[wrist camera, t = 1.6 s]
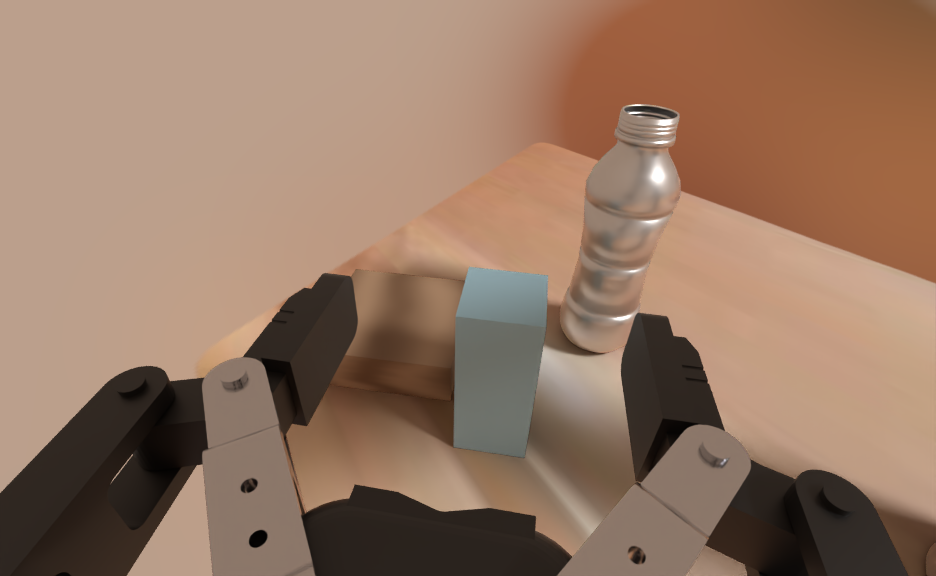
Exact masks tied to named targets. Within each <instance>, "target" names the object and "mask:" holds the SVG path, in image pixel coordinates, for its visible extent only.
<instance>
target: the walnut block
mask: <svg viewBox="0 0 936 576" xmlns="http://www.w3.org/2000/svg"><path fill="white" fill-rule="evenodd" d="M351 278H352V281H353V286H354V293H355V301H356V308H357V316H358V325H357V331H356V334H355V337H354V339H353V341H352V343H351V345H350V347H349V349H348V350H347V352H346V354H345V356H344V358H343V360H342V362H341V364H340V365H339V367H338V369H337V371H336V373H335V375H334V377H333V378H332V380H331V382H330V384H329V385H334V386H342V387H349V388H357V389H364V390H372V391H379V392H387V393H394V394H402V395H409V396H417V397H424V398H432V399H439V400H446V401H451V397H452V392H453V388H454V383H455V319H456V313H457V309H458V306H459V302H460V298H461V295H462V291H463V287H464V284H465V281H461V280H452V279H443V278H433V277H424V276H414V275H405V274H396V273H386V272H377V271H368V270H358V269H356V270H355V271H354V273H353V275H352V276H351Z"/></svg>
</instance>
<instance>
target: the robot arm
mask: <svg viewBox="0 0 936 576" xmlns="http://www.w3.org/2000/svg"><path fill="white" fill-rule="evenodd" d="M357 325H358V316H357V308H356V301H355V293H354V286H353V281H352V278H351V277H350V276H345V275H337V274H328V273H324V274H322V275H321V277H320V278H319V279H318V281H317V282H316V283H315V285H314V286H313V287H312V289H309V288H303V289H302V290H300V291H299V292H297V293H296V294H294V295H293V296H291V297H289V299H288V300H287V301H286V302H285V304H284V305H283V306H282V307H281V309H280V312H278V313H277V314H276V315H275V316H274V318H273V319H272V322H270V323H269V324H268V325H267V327H266V328H265V329H264V330H263V332H262V333H261V334H260V336H259V337H258V338H257V339H256V341H255V342H254V343H253V345H252V346H251V347H250V348H249V350H248V351H247V352H246V353H245V355H244V356H243V357H241V358H235V359H231V360H228V361H225V362H223V363H221V364H219V365H217V366H216V367H214V368H213V369H212V370H211V371H210V372H209V373H208V374H207V375H206V376H205V378H197V379H188V380H178V381H169V378H168V376H167V374H166V373H165V371H164V370H162V369H161V368H158V367H153V366H144V367H137V368H134V369H130V370H128V371H125V372H123V373H121V374H119V375H117V376H115V377H114V378H113V379H111V380H110V381H108V382H107V383H106V384H105V385H104V386H103V387H102V388H101V389H100V390H99V391H98V392H97V393H96V394H95V396H94V397H93V398H92V399H91V400H90V401H89V402H88V403H87V404H86V405H85V406H84V407H83V408H82V409H81V410H80V411H79V412H78V413H77V414H76V415H75V416H74V417H73V418H72V419H71V420H70V421H69V422H68V424H67V425H66V426H65V427H64V428H63V429H62V430H61V431H60V432H59V433H58V434H57V435H56V436H55V437H54V438H53V439H52V440H51V441H50V442H49V443H48V444H47V445H46V446H45V447H44V448H43V449H42V450H41V452H40V453H39V454H38V455H37V456H36V457H35V458H34V459H33V460H32V461H31V462H30V463H29V464H28V465H27V466H26V467H25V468H24V469H23V470H22V471H21V472H20V473H19V475H17V477H15V478H14V480H13V481H12V482H11V483H10V484H9V485H8V486H7V487H6V488H5V489H4V490H3V491H2V492H1V493H0V576H127V574H128V572H129V571H130V569H131V568H132V566H133V564H134V563H135V562H136V560H137V558H138V557H139V555H140V554H141V552H142V551H143V549H144V547H145V545H146V544H147V542H148V541H149V540H150V538H151V536H152V535H153V533H154V532H155V530H156V529H157V527H158V525H159V524H160V522H161V521H162V519H163V518H164V516H165V514H166V513H167V511H168V510H169V508H170V507H171V505H172V503H173V502H174V500H175V499H176V497H177V496H178V494H179V492H180V491H181V489H182V488H183V486H184V484H185V483H186V481H187V480H188V478H189V477H190V475H191V474H192V472H193V470H194V469H195V467H196V466H197V465H201V464H203V471H204V483H205V494H206V505H207V516H208V526H209V538H210V549H211V560H212V572H213V576H686V575H687V573H688V571H689V570H690V568H691V566H692V565H693V563H694V562H695V560H696V558H697V557H698V555H699V554H700V552H701V550H702V549H703V547H704V546H705V545H706V546H708V547H710V548H712V549H714V550H716V551H718V552H720V553H722V554H725V555H727V556H729V557H731V558H733V559H735V560H737V561H739V562H741V563H743V564H745V567H746V571H747V575H748V576H908V574H907V572H906V570H905V568H904V566H903V564H902V562H901V560H900V558H899V556H898V554H897V551H896V549H895V547H894V545H893V543H892V541H891V539H890V537H889V535H888V533H887V531H886V529H885V527H884V525H883V523H882V521H881V519H880V517H879V515H878V513H877V511H876V509H875V508H874V506H873V504H872V503H871V502H870V500H869V499H868V498H867V497H866V496H865V495H864V494H863V492H861V491H860V490H859V489H858V488H857V487H856V486H854V485H853V484H851V483H850V482H848V481H847V480H845V479H843V478H842V477H839V476H837V475H835V474H833V473H830V472H826V471H822V470H808V471H805V472H802V473H801V474H800V475H799V476H798V477H797V478H796V479H793V478H791V477H789V476H786V475H784V474H781V473H779V472H776V471H774V470H772V469H769V468H767V467H764V466H762V465H760V464H758V463H756V462H754V461H753V460H751V459H750V458H749V455H748V453H747V451H746V450H745V448H744V447H743V445H742V444H741V443H740V442H739V441H738V440H737V439H735V438H734V437H733V436H732V435H730V434H729V433H727V432H725V430H724V427H723V424H722V421H721V418H720V415H719V412H718V409H717V406H716V403H715V400H714V397H713V394H712V391H711V388H710V385H709V384H708V383H707V382H708V379H707V376H706V374H705V371H703V365H702V362H701V359H700V356H699V353H698V351H697V350H696V349H695V348H694V347H693V346H692V344H691V343H690V342H689V341H688V340H687V339H686V338H684V337H677V336H673V333H672V329H671V326H670V323H669V319H668V317H667V316H661V315H652V314H644V313H637V314H636V316H635V318H634V321H633V324H632V327H631V331H630V334H629V337H628V340H627V343H626V346H625V350H624V353H623V357H622V363H621V378H622V385H623V392H624V399H625V407H626V414H627V421H628V428H629V435H630V443H631V450H632V457H633V464H634V471H635V479H636V481H640V482H641V483H640V484H639V483H638V482H637V483H635V484H634V485H633V486H632V487H631V488H630V489H629V490H628V491H627V493H626V494H625V495H624V496H623V497H622V499H621V500H620V501H619V502H618V503H617V505H616V506H615V507H614V508H613V509H612V511H611V512H610V513H609V514H608V515H607V517H606V518H605V519H604V520H603V521H602V523H601V524H600V525H599V526H598V527H597V529H596V530H595V531H594V532H593V533H592V534H591V536H590V537H589V538H588V539H587V540H586V542H585V543H584V544H583V545H582V546H581V548H580V549H579V550H578V551H577V552H576V554H575V555H574V556H573V557H572V556H571V555H570V554H569V553H568V552H567V551H566V550H565V549H563V548H562V547H561V546H560V545H558V544H557V543H556V542H555V541H553V540H551V539H550V538H548V537H547V536H545V535H543V534H541V533H539V532H537V531H535V523H536V516H532V515H526V514H520V513H515V512H509V511H503V510H498V509H492V508H486V509H473V510H461V511H448V512H442V511H438V510H435V509H433V508H431V507H429V506H427V505H424V504H422V503H420V502H418V501H416V500H414V499H412V498H409V497H407V496H405V495H403V494H401V493H399V492H394V491H389V490H383V489H377V488H372V487H366V486H360V485H355V486H354V488H353V491H352V493H351V496H350V498H349V499H342V500H337V501H332V502H329V503H326V504H323V505H321V506H318V507H316V508H314V509H312V510H310V511H308V512H307V511H306V508H305V505H304V501H303V498H302V494H301V490H300V486H299V482H298V479H297V475H296V471H295V467H294V463H293V459H292V456H291V452H290V448H289V444H288V440H287V437H286V433H287V431H288V430H289V428H290V426H291V424H297V425H303V426H307V425H308V423H309V421H310V420H311V418H312V416H313V414H314V412H315V410H316V408H317V407H318V405H319V403H320V401H321V399H322V397H323V395H324V393H325V392H326V390H327V388H328V386H329V384H330V382H331V380H332V378H333V377H334V375H335V373H336V371H337V369H338V367H339V365H340V364H341V362H342V360H343V358H344V356H345V354H346V352H347V350H348V349H349V347H350V345H351V343H352V341H353V339H354V337H355V334H356V331H357ZM132 454H133V456H132V457H131V459H130V460H129V461H128V462H127V464H126V465H125V466H124V468H123V469H122V470H121V472H120V473H119V474H118V475H117V477H116V478H115V479H114V480H113V478H114V477H115V476H116V474H117V473H118V472H119V470H120V469H121V468H122V466H123V465H124V464H125V463H126V461H127V460H128V459H129V458H130V456H131V455H132ZM112 480H113V482H112ZM111 482H112V483H111ZM926 574H927V576H936V542H935V543H934V544H933V545H932V546H931V547H930V549H929V551H928V554H927V556H926Z"/></svg>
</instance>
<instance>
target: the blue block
mask: <svg viewBox="0 0 936 576" xmlns="http://www.w3.org/2000/svg"><path fill="white" fill-rule="evenodd" d="M547 289H548V275H539V274H530V273H521V272H511V271H502V270H493V269H484V268H474V267H469V269H468V273H467V276H466V280H465V284H464V287H463V291H462V295H461V298H460V302H459V306H458V309H457V313H456V319H455V385H454V447H455V448H462V449H468V450H475V451H482V452H489V453H495V454H502V455H509V456H515V457H522V458H525V452H526V446H527V440H528V434H529V428H530V422H531V417H532V411H533V405H534V399H535V393H536V387H537V381H538V375H539V369H540V363H541V357H542V351H543V345H544V339H545V333H546V326H547Z"/></svg>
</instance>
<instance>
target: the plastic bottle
mask: <svg viewBox="0 0 936 576" xmlns="http://www.w3.org/2000/svg"><path fill="white" fill-rule="evenodd" d="M679 116H680V115H679V113H677V112H676V111H674V110H671V109H669V108H665V107H661V106H655V105H645V104H634V105H627V106H624V107H623V108H622V110H621V112H620V117H619V123H618V127H617V128H616V130H615V135H614V136H615V138H616V139H617V140H618V142H617V144H616V145H615V146H614V147H613V148H612V149H611V150H610V151H609V152H608V153H606V154H605V155H604V156H603V157H602V158H601V159H600V160H599V161H598V163H597V164H596V165H595V166H594V167H593V169H592V171H591V173H590V175H589V177H588V178H587V180H586V188H585V205H584V226H583V232H582V239H581V247H580V252H579V258H578V261H577V265H576V268H575V271H574V274H573V277H572V280H571V284H570V286H569V288H568V290H567V292H566V294H565V296H564V299H563V301H562V304H561V307H560V325H561V328H562V330H563V332H564V333H565V335H566V337H567V338H568V339H569V340H570V341H571V342H572V343H573V344H575V345H576V346H578V347H580V348H582V349H584V350H587V351H591V352H597V353H606V352H612V351H615V350H617V349H619V348H621V347H623V346H625V345H626V343H627V340H628V337H629V334H630V331H631V327H632V324H633V321H634V318H635V316H636V314H637V313H640V299H641V295H642V290H643V285H644V280H645V276H646V272H647V269H648V267H649V264H650V260H651V258H652V256H653V254H654V251H655V249H656V246H657V243H658V241H659V239H660V237H661V235H662V233H663V231H664V229H665V227H666V225H667V223H668V221H669V219H670V218H671V216H672V214H673V211H674V209H675V208H676V206H677V203H678V201H679V198H680V179H679V176H678V173H677V170H676V167H675V165H674V163H673V161H672V159H671V157H670V155H669V153H668V147H671V146H673V145H674V142H675V139H676V135H675V133H676V129H677V125H678V122H679Z"/></svg>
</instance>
